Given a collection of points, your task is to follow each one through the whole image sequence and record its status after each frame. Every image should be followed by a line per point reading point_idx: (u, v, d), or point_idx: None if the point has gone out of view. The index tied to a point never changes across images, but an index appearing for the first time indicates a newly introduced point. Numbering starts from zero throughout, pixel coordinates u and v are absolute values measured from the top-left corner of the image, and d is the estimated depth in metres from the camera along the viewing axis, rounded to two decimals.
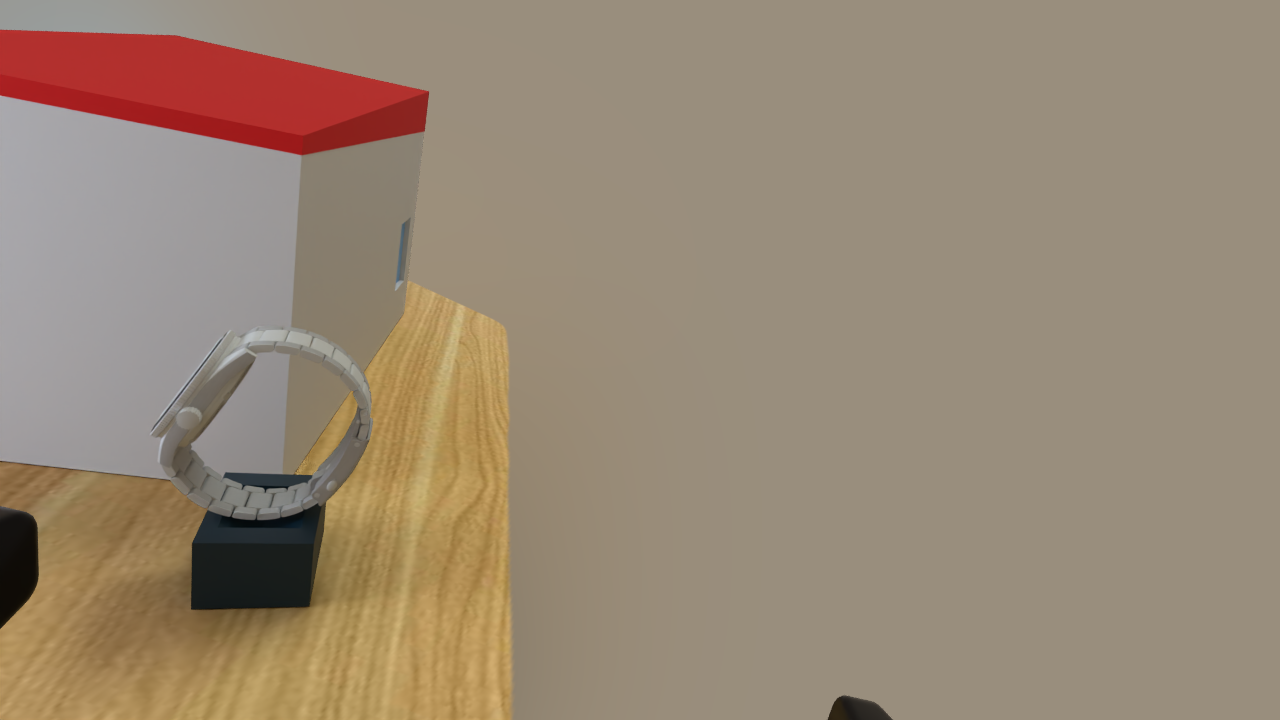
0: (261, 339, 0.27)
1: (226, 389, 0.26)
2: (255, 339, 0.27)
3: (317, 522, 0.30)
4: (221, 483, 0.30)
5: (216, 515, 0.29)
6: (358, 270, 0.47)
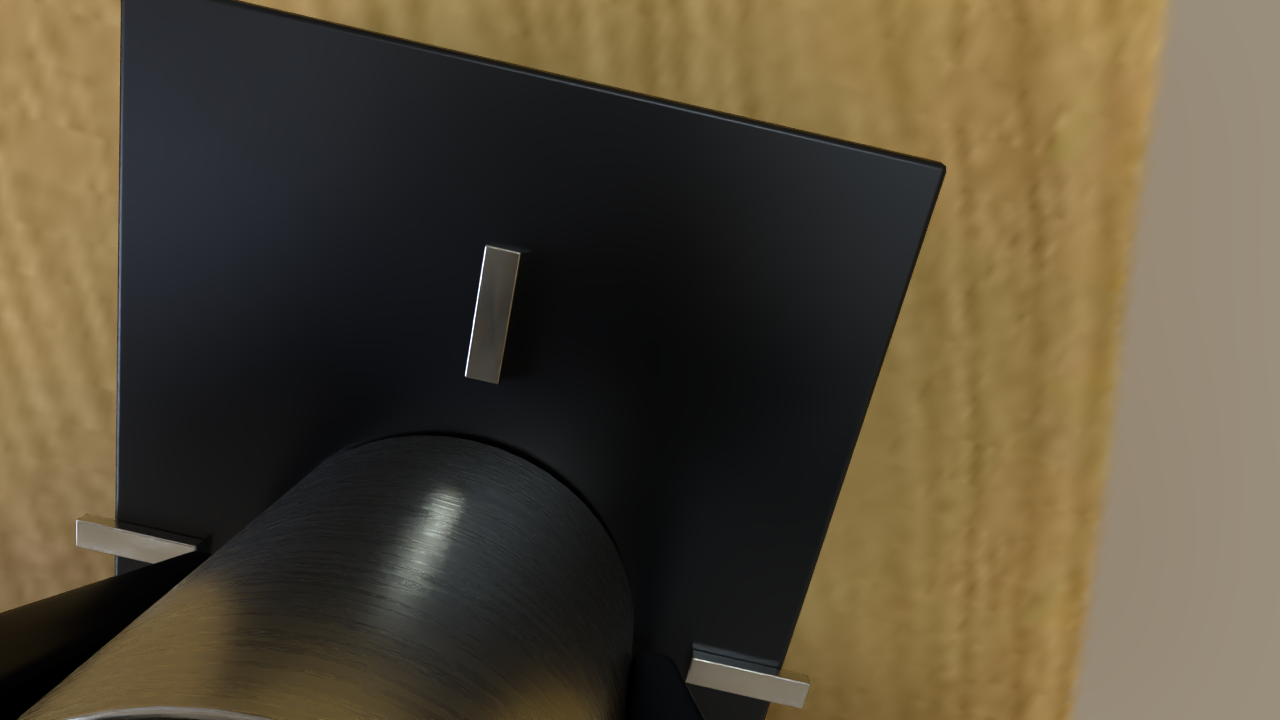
0: None
1: None
2: None
3: None
4: None
5: None
6: None
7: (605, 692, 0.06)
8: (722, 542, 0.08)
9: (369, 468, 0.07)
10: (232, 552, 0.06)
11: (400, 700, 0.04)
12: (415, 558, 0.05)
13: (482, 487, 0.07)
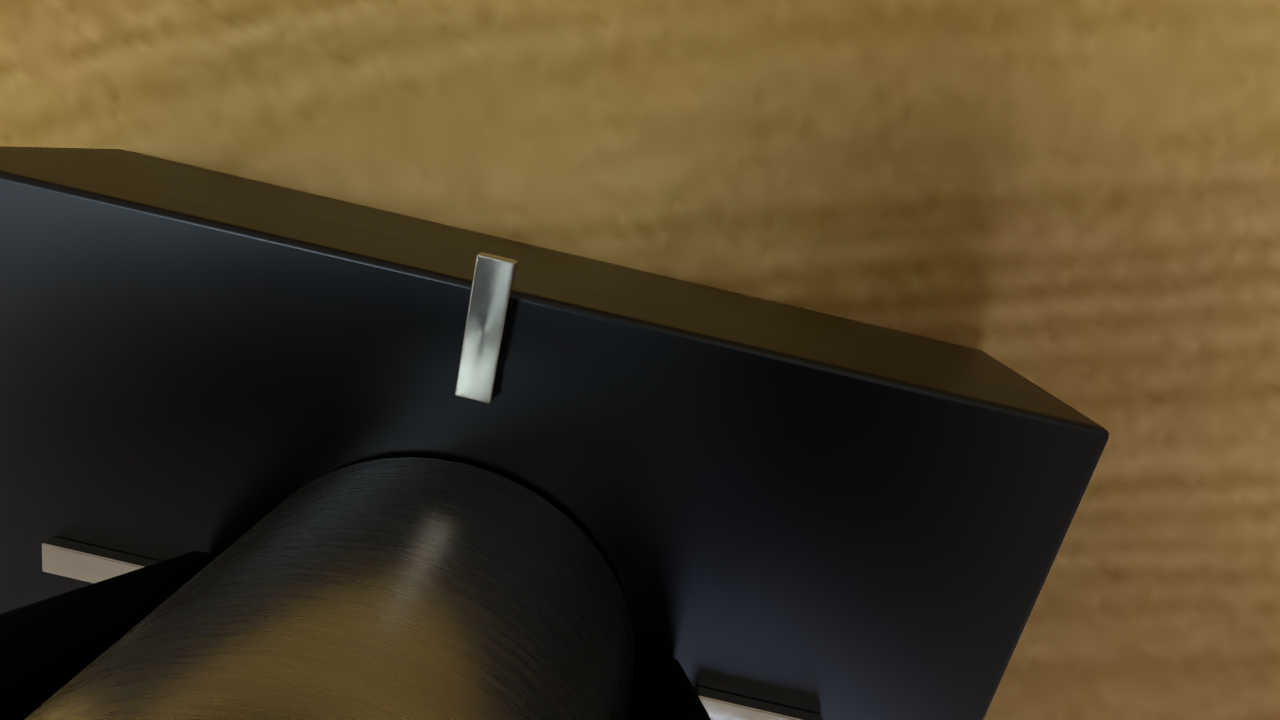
0: None
1: None
2: None
3: None
4: None
5: None
6: None
7: None
8: (317, 356, 0.07)
9: (353, 494, 0.06)
10: (197, 591, 0.05)
11: None
12: (398, 603, 0.05)
13: (475, 518, 0.06)
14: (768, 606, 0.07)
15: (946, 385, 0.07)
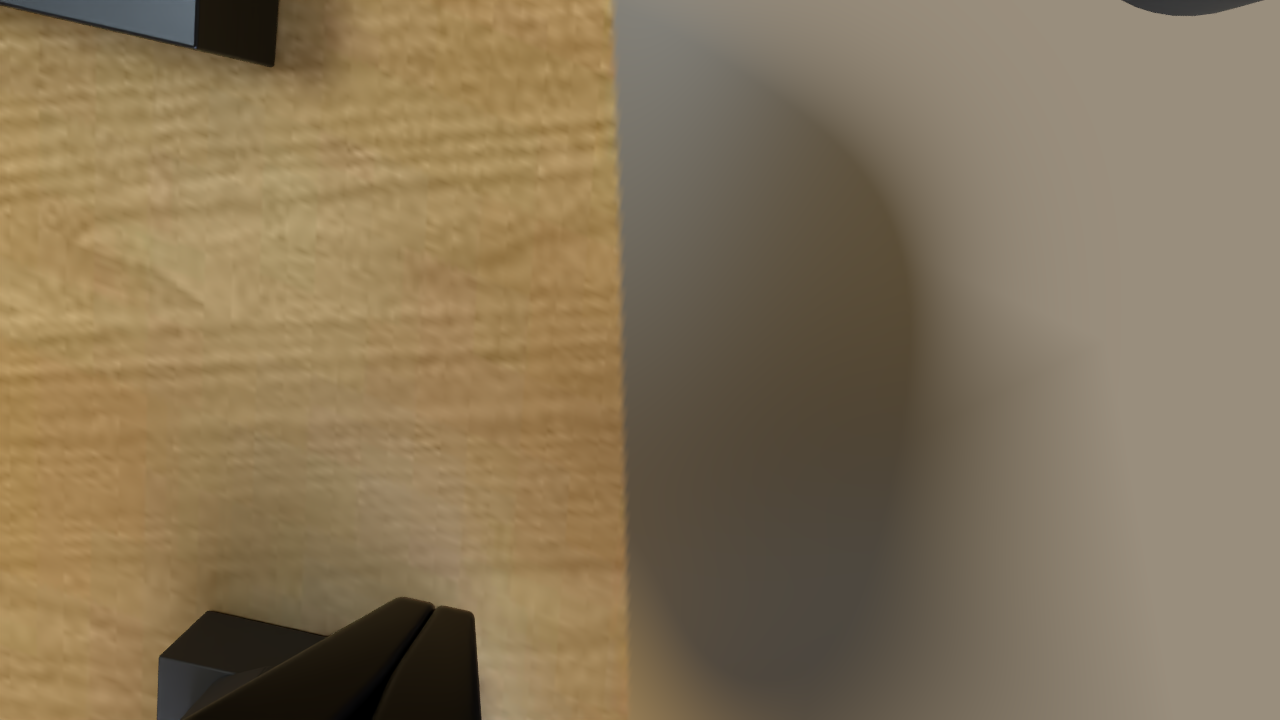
0: None
1: None
2: None
3: None
4: None
5: None
6: None
7: None
8: None
9: None
10: None
11: None
12: None
13: None
14: None
15: None
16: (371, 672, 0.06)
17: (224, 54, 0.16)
